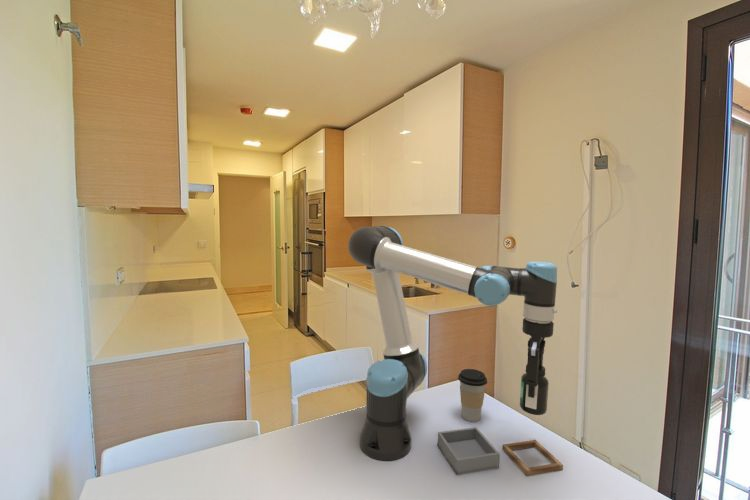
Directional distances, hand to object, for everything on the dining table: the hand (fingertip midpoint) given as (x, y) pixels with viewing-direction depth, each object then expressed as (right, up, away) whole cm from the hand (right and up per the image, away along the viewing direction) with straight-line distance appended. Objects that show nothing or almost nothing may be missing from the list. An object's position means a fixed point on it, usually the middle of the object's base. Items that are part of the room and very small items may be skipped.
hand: (532, 401), depth 97 cm
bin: (-17, -16, +2) cm, 24 cm away
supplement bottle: (0, -2, 0) cm, 2 cm away
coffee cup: (-11, -15, +22) cm, 29 cm away
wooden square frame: (0, -17, +1) cm, 17 cm away
